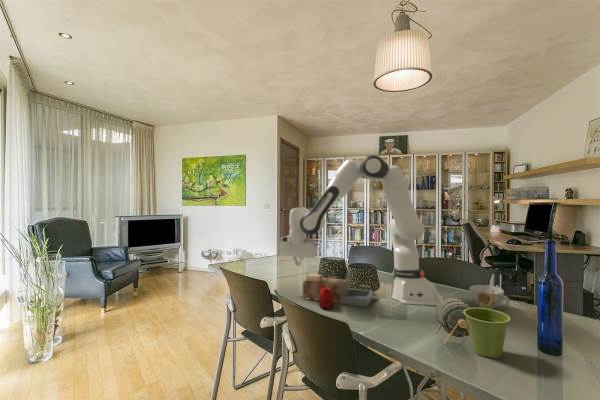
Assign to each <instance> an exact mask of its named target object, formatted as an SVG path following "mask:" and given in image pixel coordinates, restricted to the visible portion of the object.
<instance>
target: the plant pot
mask: <svg viewBox="0 0 600 400" xmlns="http://www.w3.org/2000/svg"><path fill="white" fill-rule="evenodd" d="M462 313H463V315H464V316H465V320H466V322H467V325H468V329H469V335H470V340H471V346H472V350H473V351H474V352H475V353H476V354H478V355H479V356H482V357H488V358H491V359H498V358H500V357H502V355H503V351H504V350H503V349H504V344H505V338H506V332H507V328H508V325H509V322H510V321H511V317H510V315H508V314H506V313H504V312H502V311H500V310H495V309H492V310H491V309H486V308H478V307H470V308H466V309H464V310H463V312H462Z"/></svg>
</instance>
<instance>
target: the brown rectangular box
mask: <svg viewBox="0 0 600 400" xmlns="http://www.w3.org/2000/svg"><path fill="white" fill-rule="evenodd" d="M322 280H323V281H324V282H323V283H322ZM323 284H324V286H325V287H326V286H328V287H329V288H331V291H332V292H333V296H334V301H335V302H338V303H337V304H340V296H341V295H342V294H343V293H344V292H345V291H346V290H347V289H349V280H348V279H342V278H333V277H322V279H321V280H320V281H318V282H313V281H306V280H304V281H303V282H302V298H310V299H317V300H319V294H320V291H321V289H322V287H323ZM317 300H316V301H317Z"/></svg>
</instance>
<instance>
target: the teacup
mask: <svg viewBox="0 0 600 400" xmlns="http://www.w3.org/2000/svg"><path fill="white" fill-rule="evenodd" d="M493 290H494V291H495V292H492V291H493ZM480 292H484V293H486V294H487V295H488V296H489V297H491V296H490V294H491V293H493V294H494V295H495V296H494V301H493V304H492V305H491V306H489V307H490V308H491V309H492V310H495V309H496V308H497V307H507V306H508V305H509V303H510V299H509V297H508V296H507V295H505V291H504V289H502V288H501V287H497V286H493V285H486V284H485V285H482V284H475V285H470V287H469V293H470V296H471V298H472V300H473V301H474V303H475V304H476V305H477V307H479V306H482V305H480V304H479V303H478V301H479V299H478V294H479V293H480ZM504 299H505V300H506V303H502V302H503V300H504Z"/></svg>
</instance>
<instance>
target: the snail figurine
mask: <svg viewBox="0 0 600 400" xmlns="http://www.w3.org/2000/svg"><path fill="white" fill-rule="evenodd" d="M492 292H495V291H494V290H493V291H492ZM490 296H491V297H489V296H488V295H487V294H486V293H484V292H480V293H479V294H478V299H479V301H478V303H479V304H480V305H482V306H477V308H486V309H491V308H490V307H489V306H491V305H492V304H493V301H494V296H495V295H494V294H493V293H491V294H490ZM491 310H493V309H491Z"/></svg>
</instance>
